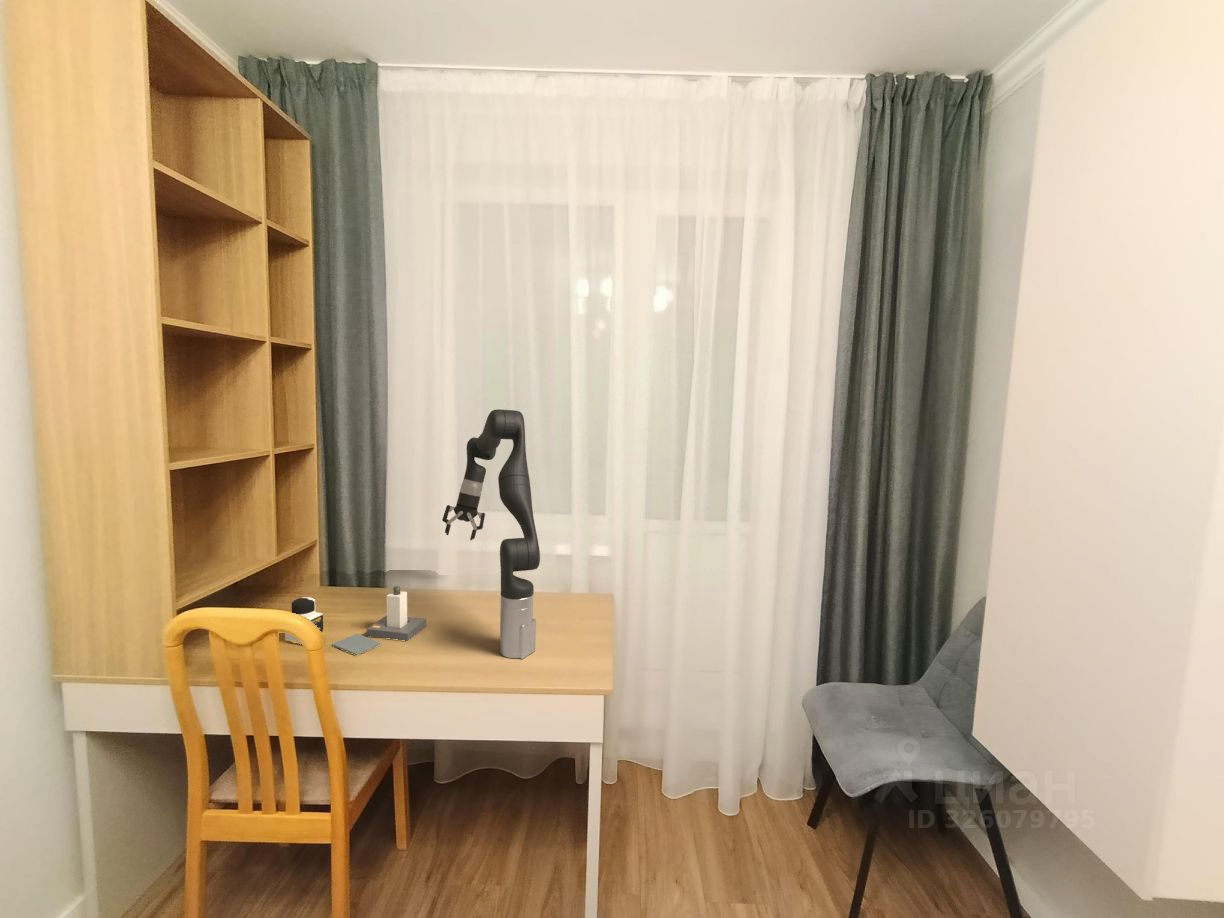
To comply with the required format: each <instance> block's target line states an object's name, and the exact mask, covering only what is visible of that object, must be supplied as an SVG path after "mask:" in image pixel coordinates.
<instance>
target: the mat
mask: <svg viewBox="0 0 1224 918" xmlns="http://www.w3.org/2000/svg"><path fill="white" fill-rule="evenodd" d="M380 644H381V645H382V642H380V641H377V640H375V639H373V638H370V637H367V636H364V635H362V634H361V635H360V634H358V633H356V634H352V635H351V636H348V637H346V638H343V639H341V640H337V641H335V642H333V643H332V644H331V646H332V647H333V646H334V647H333V648H336V647H338V648H340V649H339V650H341V649H343V650H345V651H348V652H350V653H353V654H355V655H358V654H360V653H362V652H365V651H367V650H369V649H371V648H374V647H376V646H378V645H380ZM378 647H379V646H378ZM338 648H337V649H338ZM376 648H377V647H376ZM374 649H375V648H374ZM343 650H342V651H343ZM345 651H344V652H345ZM369 651H370V650H369ZM348 652H347V653H348ZM367 652H368V651H367ZM350 653H349V654H350ZM365 653H366V652H365ZM353 654H352V655H353ZM355 655H354V656H355ZM358 656H359V655H358Z"/></svg>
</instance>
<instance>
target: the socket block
mask: <svg viewBox="0 0 1224 918" xmlns="http://www.w3.org/2000/svg"><path fill="white" fill-rule="evenodd" d="M426 627H427V618H425V617H415V616H407V624H406V625H404V626H403V627H402V628H394V627H387V614H386V615H385V616H384V617H382V618H381V619H379V620H378V621H376V622H374V623H373V624H372V625H370V626H369V627H368V628H366V637H367V636H369V637H368V638H372V637H379V638H378V639H380V638H390V639H398V640H405V641H404V642H406V641H408V640H409V639H410V640H412V639H413V638H414V637H415V636H416V635H418V634H417V633H418V632H419V633H420V632H422V630H424V629H425V628H426ZM414 635H415V636H414ZM370 636H371V637H370ZM413 636H414V637H413ZM412 637H413V638H412ZM411 638H412V639H411ZM410 640H409V641H410ZM409 641H408V642H409Z"/></svg>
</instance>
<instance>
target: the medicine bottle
mask: <svg viewBox="0 0 1224 918" xmlns="http://www.w3.org/2000/svg"><path fill="white" fill-rule="evenodd" d="M292 613H296V614H299V615H301V616H303V617H306V618H307V619H309V620H311V621H312V622H313V623H314V624H315V625H316V626H317V627H318V628H319V630H320V631H321V632H322V634H323V635H324V614H323V612H318V611H316V599H315V598H313V597H307V596H304V597H303V596H302V597H299V598H297V599H295V600H293V601H292V602H291V614H292ZM287 639H288V640H293V641H295V640H296V642H298V643H299V644H300V642H299V641H298V639H297V638H295V637H294V636H292V635H290V634H287V633H285V632H284V640H287ZM299 644H298V645H299ZM300 646H302V645H301V644H300Z"/></svg>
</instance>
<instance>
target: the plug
mask: <svg viewBox="0 0 1224 918" xmlns="http://www.w3.org/2000/svg"><path fill="white" fill-rule="evenodd" d="M392 590H393V591H391V592H390V593H389V594H387V595H386V615H387V627H394V628H402V627H403V626H404V625H406V624H407V617H408V591H401V586H400V585H399V586H398V585H397V586H393V589H392Z"/></svg>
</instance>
